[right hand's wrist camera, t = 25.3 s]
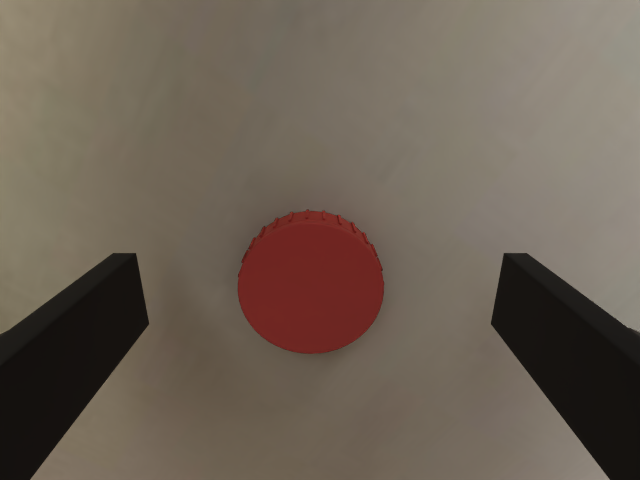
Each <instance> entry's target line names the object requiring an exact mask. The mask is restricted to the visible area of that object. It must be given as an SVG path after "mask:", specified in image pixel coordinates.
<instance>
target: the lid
mask: <svg viewBox="0 0 640 480" xmlns="http://www.w3.org/2000/svg"><path fill="white" fill-rule="evenodd" d="M248 249H250V250H247V251H246V253H245V255H244V257H243V259H242V263H243V265H242V267H241V270H240V272H239V274H238V277H239V279H238V296H239V302H240V305H241V309H242V311H243V313H244V315H245V317H246V319H247V320H248V322H249V323H250V325H251V326H252V327H253V328H254V330H255V331H256V332H257V333H259V334H260V335H261V336H262V337H263V338H265V339H266V340H267V341H269V342H270V343H272V344H274V345H276V346H278V347H281V348H283V349H286V350H289V351H293V352H298V353H309V354H313V353H324V352H329V351H333V350H336V349H339V348H342V347H344V346H346V345H348V344H350V343H352V342H353V341H355V340H356V339H357V338H359V337H360V336H361V335H362V334H363V333H364V332H366V331H367V329H368V328H369V327H370V326H371V325H372V323H373V322H374V320H375V318H376V317H377V315H378V312H379V310H380V307H381V304H382V300H383V294H384V281H383V276H382V273H381V271H382V270H383V269H382V266H381V264H380V261H379V259H378V258H376V257H377V253H376V251H375V248H374V246H373V244H372V245H370V243H369V241H368V239H367V237H366V234H365V233H364V232H363V233H362V232H361V231H360V230H358V229H357V228H356V227H355V225H354V223H353V222H352V223H349V222H348V221H346V220H344V219H342V218H341V216H340V215H338V216H335V215H332V214H329V213H325V211H323V210H322V212H315V211H309V210H306V212H298V213H293V212H290V215H287V216H284V217H282V218H280V219H278V218H276V219H275V221H274V222H273V223H271V224H270V225H268V226H267V227H265V226H264V227H263V228H262V231H261V233H260V234H259V235H258V236H257V237H256V238H255V237H254V238H253V240H252V242H251V244H250V246H249V248H248Z"/></svg>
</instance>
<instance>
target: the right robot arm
mask: <svg viewBox="0 0 640 480" xmlns="http://www.w3.org/2000/svg"><path fill="white" fill-rule="evenodd" d="M148 325H149V321H148V316H147V310H146V305H145V299H144V294H143V289H142V283H141V278H140V272H139V267H138V262H137V256H136V253H113V254H111V255H110V256H109V257H107V258H106V259H105V260H103V261H102V262H101V263H99V264H98V265H97V266H95V267H94V268H92V269H91V270H90V271H88V272H87V273H86V274H84V275H83V276H82V277H80V278H79V279H78V280H76V281H75V282H74V283H72V284H71V285H69V286H68V287H67V288H65V289H64V290H63V291H61V292H60V293H59V294H57V295H56V296H55V297H53V298H52V299H50V300H49V301H48V302H46V303H45V304H44V305H42V306H41V307H40V308H38V309H37V310H36V311H34V312H33V313H32V314H30V315H29V316H27V317H26V318H25V319H23V320H22V321H21V322H19V323H18V324H17V325H15V326H14V327H13V328H11V329H10V330H8V331H6V332H4V333H2V334H0V480H30V479H31V478H32V476H33V475H34V474H35V472H36V471H37V470H38V468H39V467H40V466H41V465H42V463H43V462H44V461H45V459H46V458H47V457H48V455H49V454H50V453H51V451H52V450H53V449H54V448H55V446H56V445H57V444H58V442H59V441H60V440H61V438H62V437H63V436H64V434H65V433H66V432H67V431H68V429H69V428H70V427H71V425H72V424H73V423H74V421H75V420H76V419H77V417H78V416H79V415H80V414H81V412H82V411H83V410H84V408H85V407H86V406H87V404H88V403H89V402H90V400H91V399H92V398H93V397H94V395H95V394H96V393H97V391H98V390H99V389H100V387H101V386H102V385H103V383H104V382H105V381H106V380H107V378H108V377H109V376H110V374H111V373H112V372H113V370H114V369H115V368H116V366H117V365H118V364H119V363H120V361H121V360H122V359H123V357H124V356H125V355H126V353H127V352H128V351H129V349H130V348H131V347H132V346H133V344H134V343H135V342H136V340H137V339H138V338H139V336H140V335H141V334H142V332H143V331H144V330H145V329H146V327H147V326H148ZM491 325H492V326H493V327H494V329H495V330H496V331H497V333H498V334H499V335H500V336H501V338H502V339H503V340H504V342H505V343H506V344H507V346H508V347H509V348H510V350H511V351H512V352H513V353H514V355H515V356H516V357H517V359H518V360H519V361H520V363H521V364H522V365H523V367H524V368H525V369H526V370H527V372H528V373H529V374H530V376H531V377H532V378H533V380H534V381H535V382H536V384H537V385H538V386H539V387H540V389H541V390H542V391H543V393H544V394H545V395H546V397H547V398H548V399H549V401H550V402H551V403H552V404H553V406H554V407H555V408H556V410H557V411H558V412H559V414H560V415H561V416H562V418H563V419H564V420H565V421H566V423H567V424H568V425H569V427H570V428H571V429H572V431H573V432H574V433H575V435H576V436H577V437H578V438H579V440H580V441H581V442H582V444H583V445H584V446H585V448H586V449H587V450H588V452H589V453H590V454H591V455H592V457H593V458H594V459H595V461H596V462H597V463H598V465H599V466H600V467H601V469H602V470H603V471H604V472H605V474H606V475H607V476H608V478H609V479H610V480H640V333H639V332H637V331H635V330H633V329H631V328H627V327H626V326H625V325H623V324H622V323H621V322H619V321H618V320H617V319H615V318H614V317H612V316H611V315H610V314H608V313H607V312H606V311H604V310H603V309H602V308H600V307H599V306H598V305H596V304H595V303H594V302H592V301H591V300H589V299H588V298H587V297H585V296H584V295H583V294H581V293H580V292H579V291H577V290H576V289H575V288H573V287H572V286H571V285H569V284H568V283H566V282H565V281H564V280H562V279H561V278H560V277H558V276H557V275H556V274H554V273H553V272H552V271H550V270H549V269H547V268H546V267H545V266H543V265H542V264H541V263H539V262H538V261H537V260H535V259H534V258H533V257H531V256H530V255H529V254H527V253H504V256H503V261H502V267H501V272H500V278H499V283H498V288H497V294H496V299H495V305H494V310H493V315H492V321H491Z"/></svg>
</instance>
